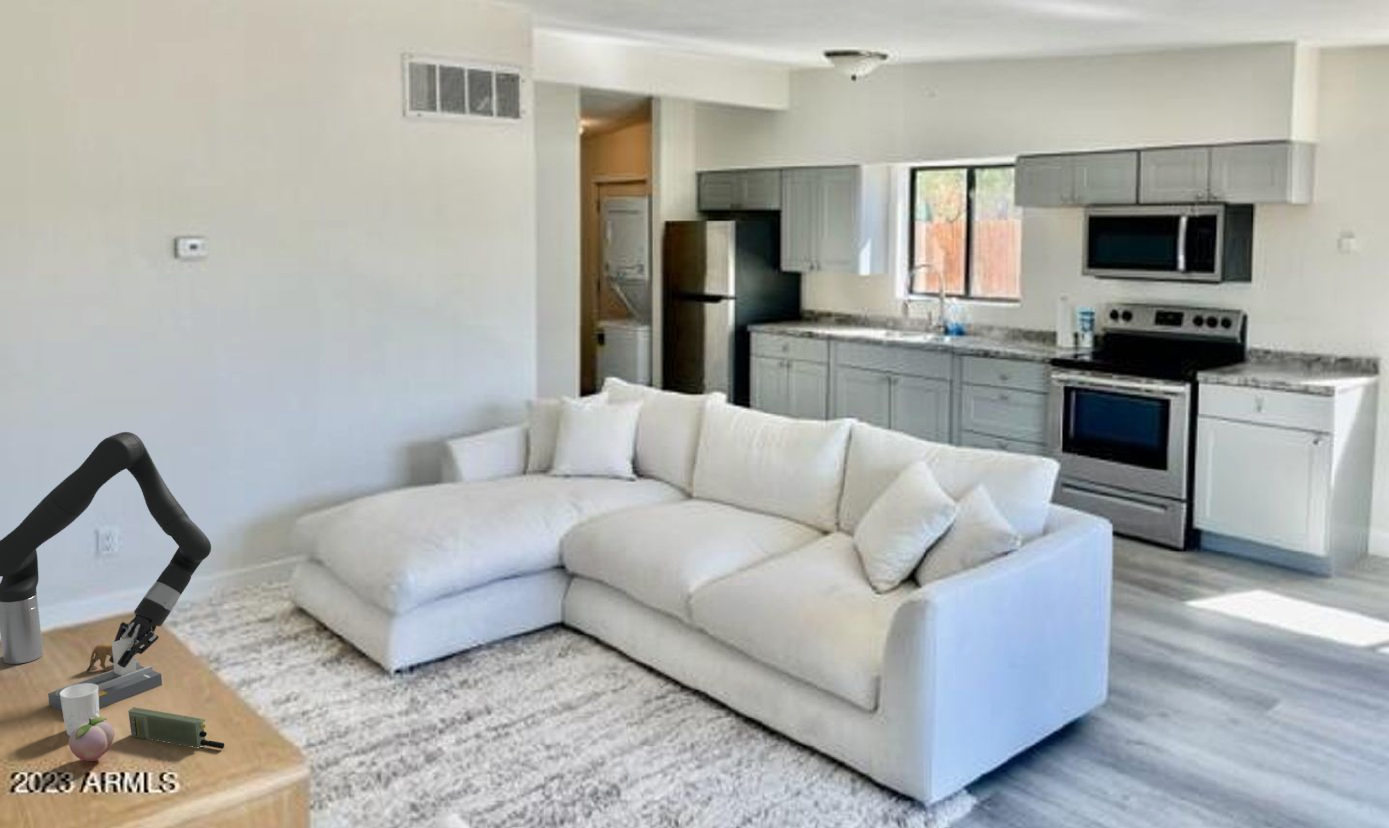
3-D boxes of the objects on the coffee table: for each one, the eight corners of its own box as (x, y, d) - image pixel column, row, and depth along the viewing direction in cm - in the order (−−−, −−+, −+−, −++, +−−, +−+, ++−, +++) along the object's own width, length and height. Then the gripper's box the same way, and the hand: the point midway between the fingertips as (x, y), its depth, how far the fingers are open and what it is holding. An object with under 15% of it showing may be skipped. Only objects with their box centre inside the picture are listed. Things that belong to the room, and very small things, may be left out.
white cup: (109, 727, 266) (105, 687, 264) (79, 741, 259) (75, 700, 257) (86, 720, 269) (82, 680, 267) (56, 734, 262) (51, 693, 260)
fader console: (49, 705, 277) (47, 687, 276) (134, 674, 295) (133, 657, 294) (76, 717, 271) (74, 699, 270) (162, 684, 289) (160, 668, 288)
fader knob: (113, 676, 286) (110, 642, 284) (128, 670, 289) (125, 637, 288) (122, 679, 284) (119, 645, 282) (137, 674, 287) (134, 640, 286)
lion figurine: (142, 655, 307) (139, 624, 306) (149, 661, 304) (146, 629, 302) (83, 670, 297) (79, 638, 296) (89, 676, 293) (86, 644, 292)
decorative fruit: (86, 750, 254) (81, 708, 253) (122, 751, 254) (118, 709, 252) (61, 771, 245) (57, 728, 243) (99, 772, 245) (94, 728, 243)
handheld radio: (140, 731, 264) (228, 747, 257) (129, 738, 261) (218, 754, 254) (136, 705, 263) (225, 720, 255) (125, 711, 260) (215, 727, 252)
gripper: (131, 591, 293) (89, 652, 285) (163, 602, 286) (121, 664, 278) (152, 605, 298) (111, 664, 291) (184, 615, 291) (143, 677, 283)
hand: (116, 664), depth 284 cm, fingers closed on fader knob, 3 cm apart
